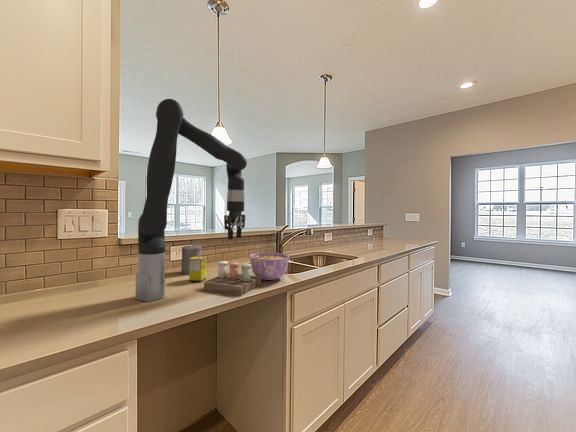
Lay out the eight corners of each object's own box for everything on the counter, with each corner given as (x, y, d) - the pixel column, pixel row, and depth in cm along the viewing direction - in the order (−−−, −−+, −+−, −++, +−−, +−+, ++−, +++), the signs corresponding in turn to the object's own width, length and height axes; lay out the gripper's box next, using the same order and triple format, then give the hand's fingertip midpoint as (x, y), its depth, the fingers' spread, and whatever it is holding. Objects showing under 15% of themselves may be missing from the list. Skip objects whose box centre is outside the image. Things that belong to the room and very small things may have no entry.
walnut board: (241, 296, 109) (241, 287, 109) (203, 290, 116) (204, 281, 115) (261, 284, 126) (261, 277, 126) (227, 279, 132) (227, 272, 132)
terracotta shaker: (235, 280, 118) (236, 264, 118) (226, 279, 119) (227, 263, 119) (240, 278, 122) (241, 262, 122) (232, 277, 124) (232, 262, 123)
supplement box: (206, 279, 133) (206, 256, 132) (201, 282, 127) (201, 259, 126) (194, 278, 133) (195, 256, 133) (188, 281, 127) (189, 258, 127)
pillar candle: (180, 270, 147) (181, 243, 147) (199, 269, 151) (200, 242, 151) (182, 275, 139) (182, 246, 138) (202, 273, 143) (202, 245, 142)
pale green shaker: (247, 282, 116) (248, 266, 116) (238, 281, 117) (239, 265, 117) (252, 280, 120) (253, 264, 120) (243, 278, 122) (244, 263, 121)
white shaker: (223, 279, 120) (224, 263, 120) (215, 278, 122) (215, 262, 121) (229, 276, 124) (229, 261, 124) (221, 275, 126) (221, 260, 125)
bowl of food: (270, 287, 123) (271, 261, 122) (240, 278, 135) (240, 255, 135) (296, 278, 139) (297, 255, 138) (267, 271, 151) (267, 251, 150)
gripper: (234, 200, 112) (233, 240, 112) (251, 201, 125) (250, 237, 126) (218, 199, 114) (218, 239, 115) (236, 201, 128) (235, 236, 128)
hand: (234, 238), depth 120 cm, fingers open, 6 cm apart
